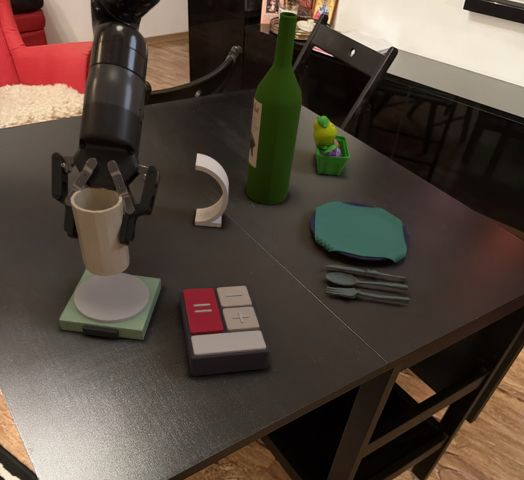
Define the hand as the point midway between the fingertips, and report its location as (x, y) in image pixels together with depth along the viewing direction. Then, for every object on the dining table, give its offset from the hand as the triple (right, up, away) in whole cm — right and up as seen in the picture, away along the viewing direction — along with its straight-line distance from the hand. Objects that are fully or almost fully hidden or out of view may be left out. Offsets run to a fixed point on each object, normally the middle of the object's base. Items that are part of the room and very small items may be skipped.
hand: (98, 240), depth 63 cm
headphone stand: (+12, +11, +31) cm, 34 cm away
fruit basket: (+37, +30, +52) cm, 70 cm away
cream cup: (0, -2, +5) cm, 5 cm away
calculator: (+15, -12, +10) cm, 22 cm away
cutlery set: (+40, +4, +29) cm, 49 cm away
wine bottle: (+23, +19, +40) cm, 50 cm away
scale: (-1, -8, +11) cm, 14 cm away
